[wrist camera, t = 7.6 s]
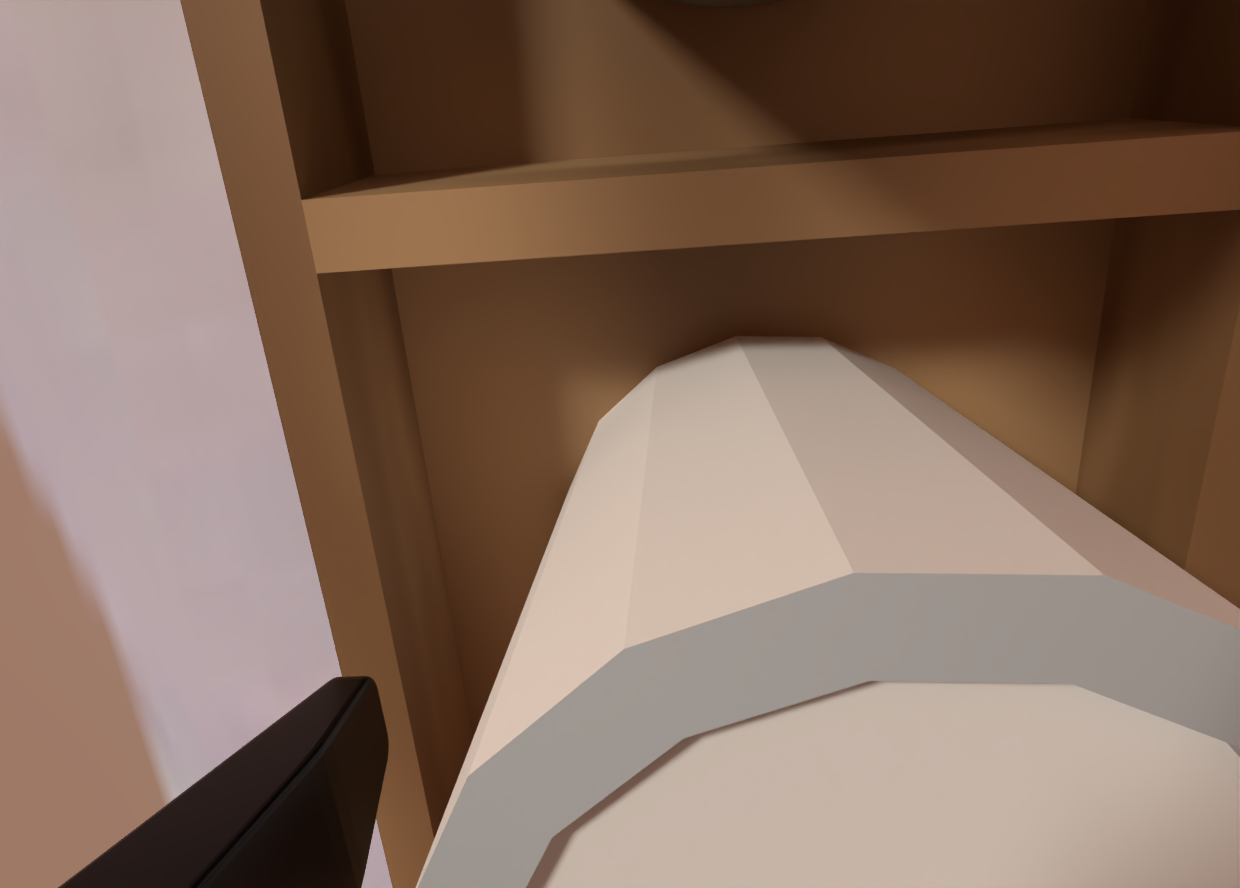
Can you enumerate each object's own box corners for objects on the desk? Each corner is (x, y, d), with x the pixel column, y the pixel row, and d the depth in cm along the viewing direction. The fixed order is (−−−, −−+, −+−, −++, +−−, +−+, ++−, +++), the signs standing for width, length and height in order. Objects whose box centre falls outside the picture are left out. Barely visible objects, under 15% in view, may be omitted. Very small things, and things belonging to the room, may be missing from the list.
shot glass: (1087, 585, 13) (1564, 1117, 6) (686, 781, 14) (728, 1369, 8) (868, 175, 10) (1244, 328, 4) (425, 461, 12) (177, 902, 6)
